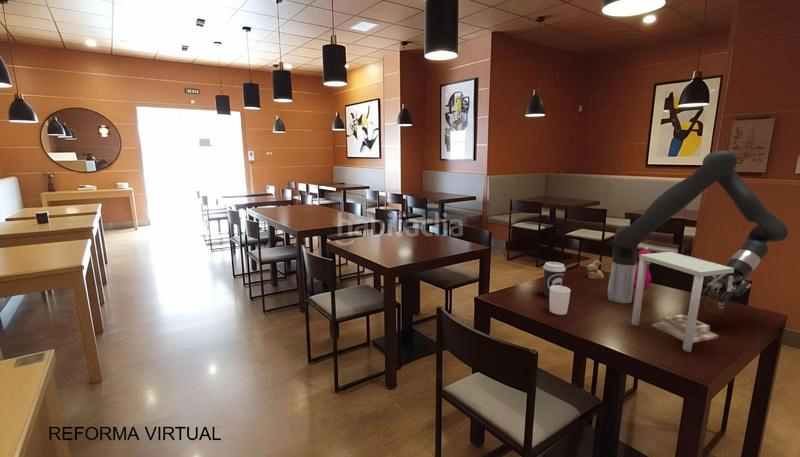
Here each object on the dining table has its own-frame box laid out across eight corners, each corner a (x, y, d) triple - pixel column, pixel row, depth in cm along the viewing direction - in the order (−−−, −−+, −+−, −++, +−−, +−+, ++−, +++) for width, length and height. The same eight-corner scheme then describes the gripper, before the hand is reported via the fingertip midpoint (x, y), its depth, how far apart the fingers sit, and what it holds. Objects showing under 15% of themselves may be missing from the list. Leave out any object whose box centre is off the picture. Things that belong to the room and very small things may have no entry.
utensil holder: (700, 310, 144) (706, 279, 141) (706, 306, 147) (711, 276, 145) (720, 315, 139) (726, 283, 137) (725, 311, 143) (731, 280, 140)
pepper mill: (652, 289, 183) (658, 249, 179) (636, 288, 185) (641, 248, 181) (646, 284, 190) (651, 245, 186) (630, 283, 192) (635, 244, 188)
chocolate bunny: (587, 274, 205) (589, 256, 203) (603, 277, 201) (606, 259, 199) (586, 277, 200) (588, 259, 199) (602, 280, 196) (605, 261, 194)
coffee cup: (564, 294, 177) (567, 263, 174) (560, 301, 169) (564, 268, 166) (543, 290, 182) (545, 260, 179) (538, 296, 174) (541, 265, 171)
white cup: (566, 317, 152) (569, 293, 150) (546, 312, 156) (548, 289, 154) (569, 310, 159) (572, 287, 157) (549, 306, 163) (551, 284, 161)
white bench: (659, 318, 151) (669, 251, 146) (720, 345, 130) (735, 268, 125) (629, 323, 147) (638, 254, 142) (687, 352, 126) (701, 272, 120)
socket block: (679, 321, 149) (681, 311, 148) (718, 337, 136) (720, 327, 135) (652, 326, 145) (653, 316, 144) (688, 343, 132) (690, 332, 131)
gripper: (717, 253, 148) (689, 285, 147) (760, 263, 134) (730, 299, 133) (724, 265, 150) (696, 296, 149) (767, 276, 137) (737, 311, 136)
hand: (712, 297), depth 141 cm, fingers closed on utensil holder, 5 cm apart
